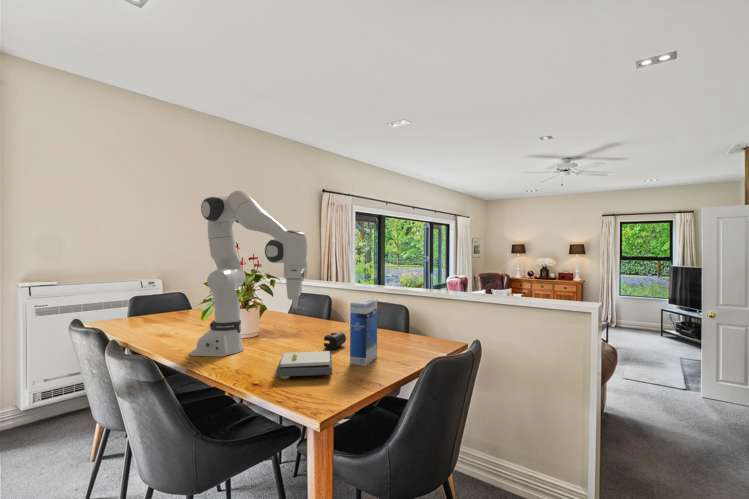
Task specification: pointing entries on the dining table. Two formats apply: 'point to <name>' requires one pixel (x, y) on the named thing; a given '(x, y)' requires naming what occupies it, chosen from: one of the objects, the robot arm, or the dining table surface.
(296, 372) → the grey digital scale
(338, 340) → the end cap
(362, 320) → the string lights box
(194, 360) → the dining table surface
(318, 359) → the level plate
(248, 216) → the robot arm
